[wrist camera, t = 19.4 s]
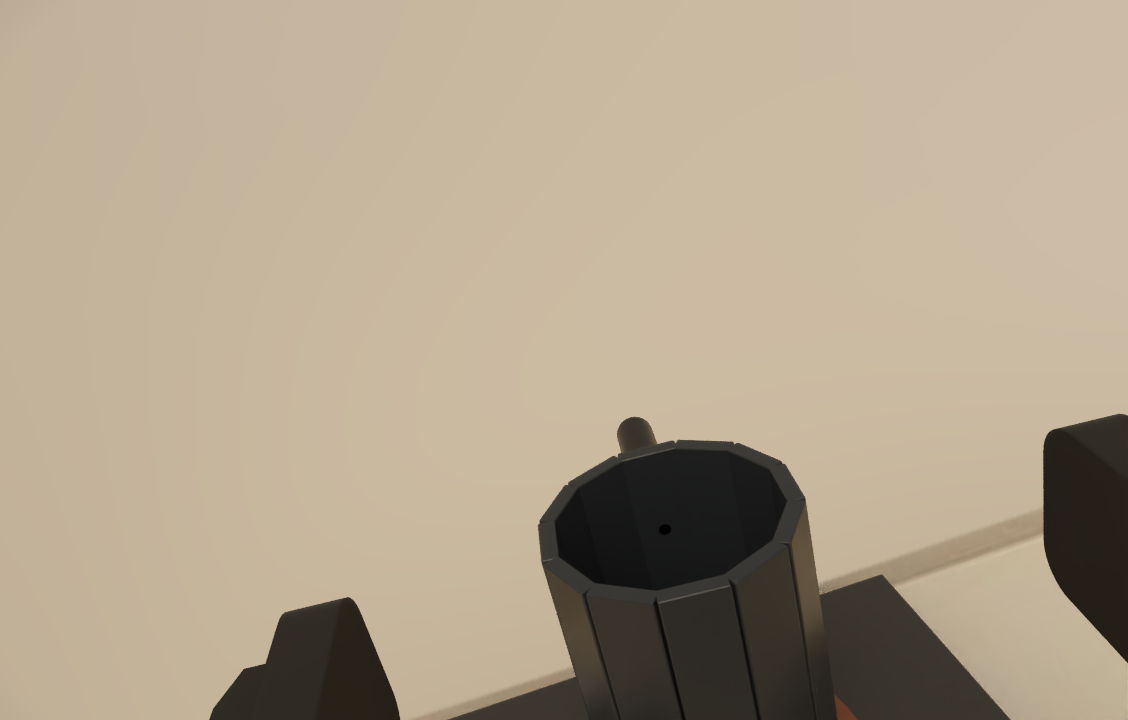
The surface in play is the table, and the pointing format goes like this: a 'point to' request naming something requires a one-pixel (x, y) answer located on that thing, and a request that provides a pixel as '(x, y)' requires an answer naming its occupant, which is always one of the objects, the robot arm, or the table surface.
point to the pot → (688, 584)
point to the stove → (838, 668)
